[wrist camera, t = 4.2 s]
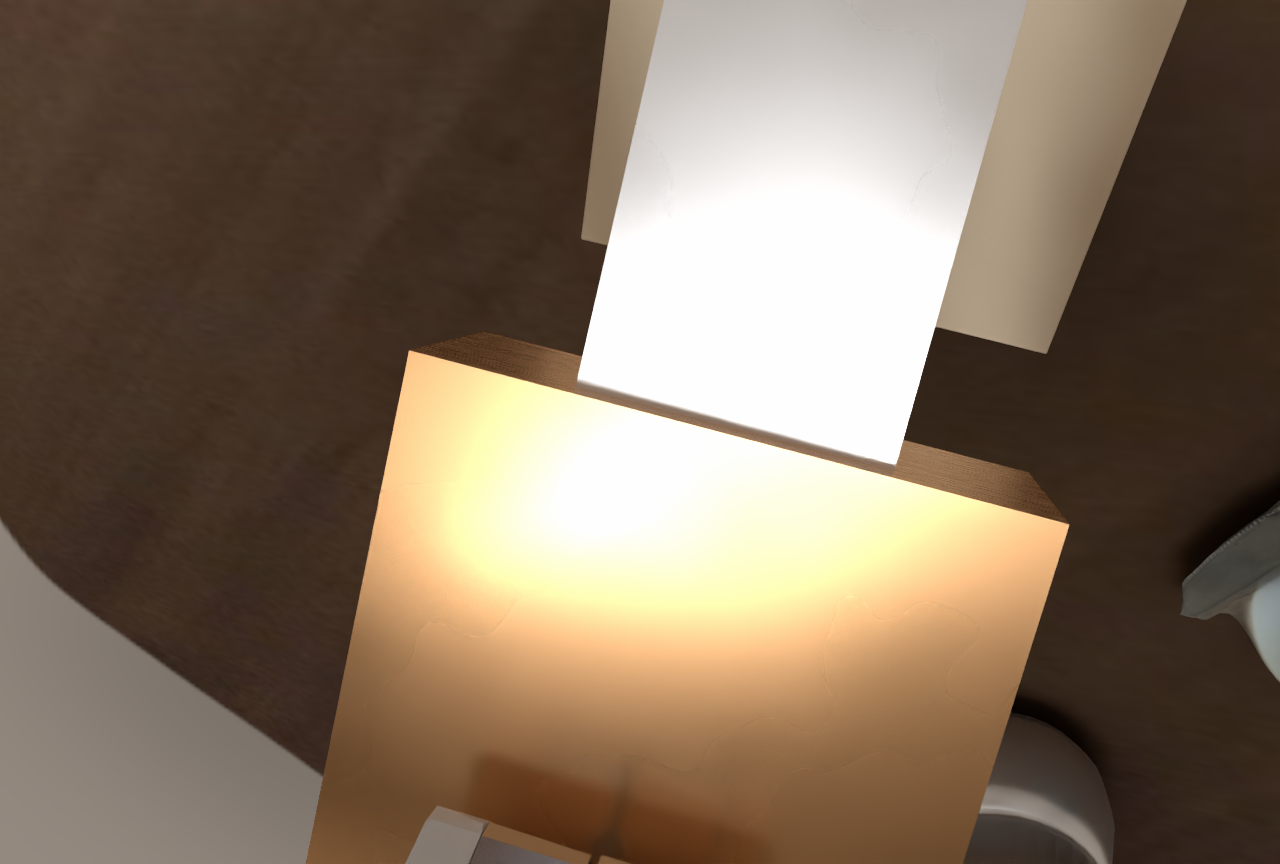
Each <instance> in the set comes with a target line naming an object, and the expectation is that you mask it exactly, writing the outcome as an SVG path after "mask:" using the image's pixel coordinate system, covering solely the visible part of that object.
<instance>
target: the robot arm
mask: <svg viewBox="0 0 1280 864" xmlns="http://www.w3.org/2000/svg"><path fill="white" fill-rule="evenodd" d="M592 858H593V854H591V853H588V852H585V851H581V850H578V849H575V848H572V847H569V846H565V845H562V844H559V843H556V842H553V841H549V840H546V839H543V838H540V837H537V836H533V835H530V834H527V833H524V832H521V831H517V830H514V829H511V828H508V827H505V826H501V825H498V824H495V823H492V822H490V821H488V820H484V819H481V818H478V817H474V816H471V815H468V814H464V813H461V812H457V811H454V810H451V809H447V808H444V807H441V806H437V807H436V808H435V809H434V811H433V812H432V813H431V815H430V816H429V817H428V819H427V820H426V821H425V823H424V825H423V827H422V830H421V832H420V834H419V836H418V838H417V840H416V842H415V844H414V847H413V849H412V851H411V853H410V855H409V857H408V859H407V861H406V863H405V864H592ZM598 864H631V863H628V862H624V861H621V860H617V859H613V858H610V857H606V856H603V855H601V858H600V860H599V862H598Z"/></svg>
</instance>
